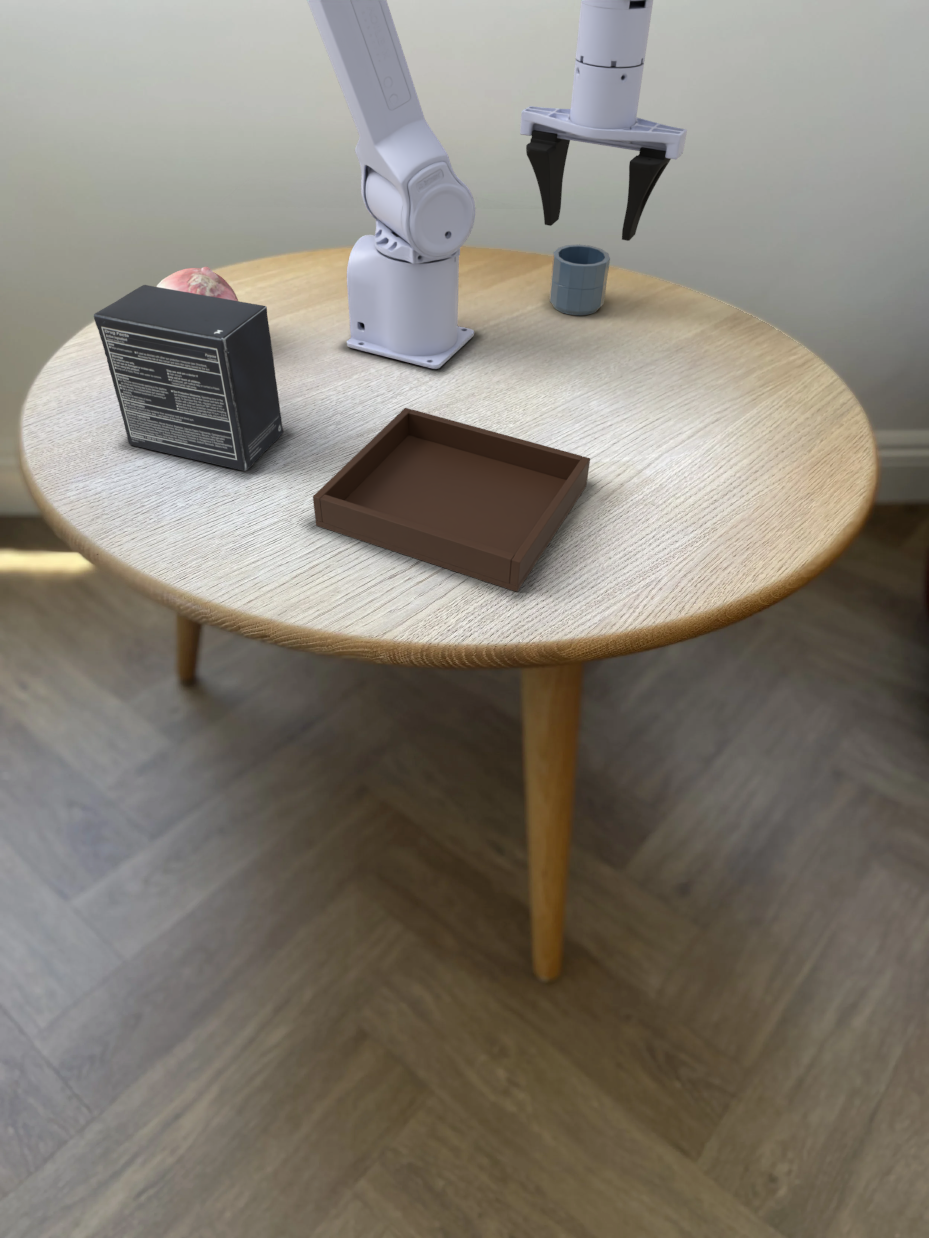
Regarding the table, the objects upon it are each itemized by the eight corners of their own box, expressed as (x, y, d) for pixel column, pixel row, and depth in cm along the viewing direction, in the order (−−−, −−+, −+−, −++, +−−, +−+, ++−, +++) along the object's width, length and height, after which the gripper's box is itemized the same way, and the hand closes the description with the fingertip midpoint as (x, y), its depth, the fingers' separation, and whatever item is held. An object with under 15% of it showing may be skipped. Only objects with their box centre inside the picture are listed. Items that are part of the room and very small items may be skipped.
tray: (315, 525, 60) (312, 496, 58) (405, 435, 69) (405, 407, 67) (517, 592, 56) (520, 562, 54) (586, 486, 64) (590, 457, 63)
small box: (288, 431, 69) (272, 302, 62) (247, 474, 64) (224, 341, 57) (172, 405, 71) (143, 278, 64) (125, 446, 67) (88, 314, 59)
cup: (540, 310, 86) (545, 259, 83) (560, 289, 90) (565, 240, 86) (592, 321, 85) (598, 270, 81) (609, 300, 88) (617, 250, 85)
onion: (201, 377, 75) (184, 295, 70) (137, 353, 77) (117, 273, 73) (263, 341, 80) (252, 263, 75) (201, 320, 82) (186, 243, 78)
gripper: (707, 62, 72) (676, 229, 82) (546, 41, 77) (534, 203, 86) (685, 79, 68) (654, 255, 77) (515, 56, 72) (505, 225, 82)
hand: (589, 229), depth 81 cm, fingers open, 7 cm apart
